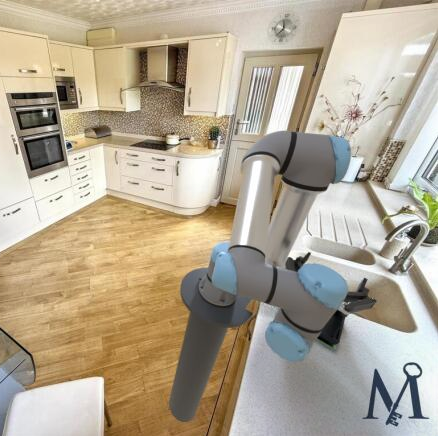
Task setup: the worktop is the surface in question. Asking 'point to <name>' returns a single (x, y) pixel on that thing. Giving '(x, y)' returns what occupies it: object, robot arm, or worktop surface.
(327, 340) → the black tray
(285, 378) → the worktop surface
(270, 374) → the worktop surface
